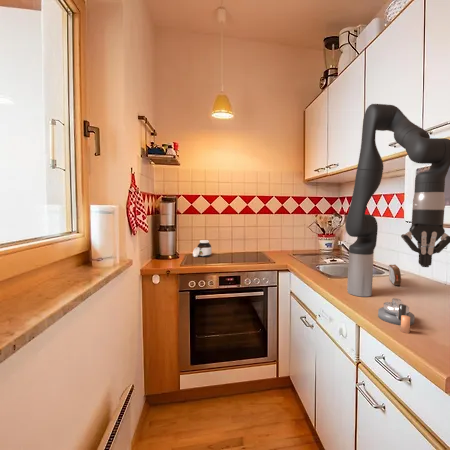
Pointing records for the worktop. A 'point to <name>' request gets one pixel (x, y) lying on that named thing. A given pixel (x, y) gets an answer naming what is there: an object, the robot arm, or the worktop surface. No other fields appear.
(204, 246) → the spread jar
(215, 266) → the worktop surface
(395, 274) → the tin
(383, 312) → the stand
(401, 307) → the dial
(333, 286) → the worktop surface
